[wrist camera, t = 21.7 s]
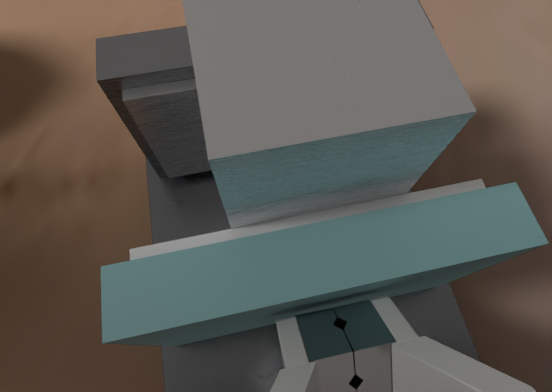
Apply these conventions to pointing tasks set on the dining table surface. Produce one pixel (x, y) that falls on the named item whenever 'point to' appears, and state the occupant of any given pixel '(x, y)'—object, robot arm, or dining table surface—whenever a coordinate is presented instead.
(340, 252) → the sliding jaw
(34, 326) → the dining table surface
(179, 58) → the vise
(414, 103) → the steel block
